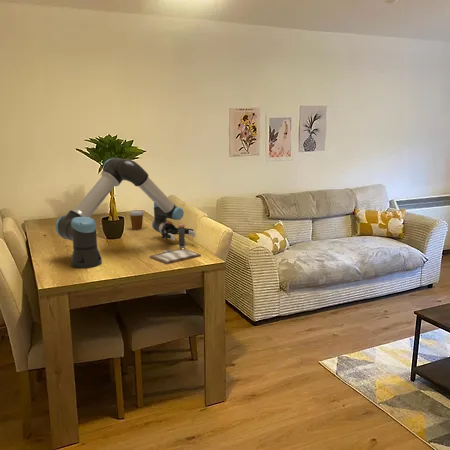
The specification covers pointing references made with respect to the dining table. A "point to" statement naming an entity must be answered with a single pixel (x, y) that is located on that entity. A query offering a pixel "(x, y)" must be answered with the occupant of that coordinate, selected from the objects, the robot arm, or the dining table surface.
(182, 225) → the marker
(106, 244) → the dining table surface
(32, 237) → the dining table surface
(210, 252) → the dining table surface
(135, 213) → the disposable coffee cup
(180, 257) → the clipboard
